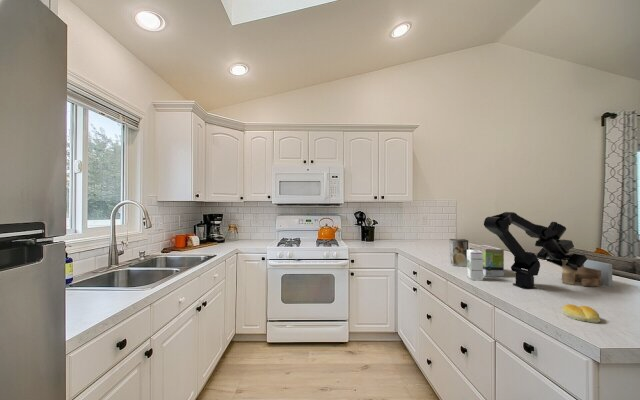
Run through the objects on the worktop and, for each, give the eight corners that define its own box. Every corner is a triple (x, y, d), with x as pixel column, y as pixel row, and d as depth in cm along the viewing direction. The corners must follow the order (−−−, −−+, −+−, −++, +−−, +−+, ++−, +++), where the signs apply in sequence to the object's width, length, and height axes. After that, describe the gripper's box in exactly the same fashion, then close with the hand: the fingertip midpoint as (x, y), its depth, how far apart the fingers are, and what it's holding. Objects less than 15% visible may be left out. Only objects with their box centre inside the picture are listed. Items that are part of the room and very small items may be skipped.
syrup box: (483, 280, 126) (483, 251, 126) (470, 280, 127) (470, 251, 127) (478, 277, 132) (478, 249, 132) (466, 276, 133) (466, 249, 133)
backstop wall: (608, 285, 119) (608, 264, 119) (583, 279, 129) (583, 259, 129) (612, 285, 119) (612, 264, 119) (587, 279, 129) (587, 259, 129)
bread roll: (559, 310, 92) (559, 299, 92) (594, 316, 87) (594, 304, 87) (565, 319, 85) (565, 307, 85) (604, 326, 80) (604, 313, 80)
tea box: (504, 277, 133) (504, 248, 133) (485, 277, 133) (485, 248, 133) (486, 269, 148) (486, 244, 148) (468, 269, 148) (468, 244, 148)
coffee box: (464, 264, 160) (464, 238, 160) (469, 266, 154) (469, 240, 154) (449, 263, 162) (449, 238, 162) (452, 266, 155) (452, 239, 155)
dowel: (569, 285, 119) (569, 262, 119) (559, 282, 124) (559, 259, 124) (577, 285, 120) (577, 261, 120) (567, 282, 124) (567, 259, 124)
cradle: (585, 286, 117) (585, 271, 117) (561, 279, 127) (561, 265, 127) (601, 285, 118) (600, 270, 118) (576, 279, 128) (576, 265, 128)
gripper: (583, 236, 112) (605, 261, 113) (541, 232, 131) (560, 252, 132) (568, 255, 111) (590, 279, 112) (528, 247, 130) (547, 268, 131)
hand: (571, 268), depth 122 cm, fingers closed on dowel, 4 cm apart
